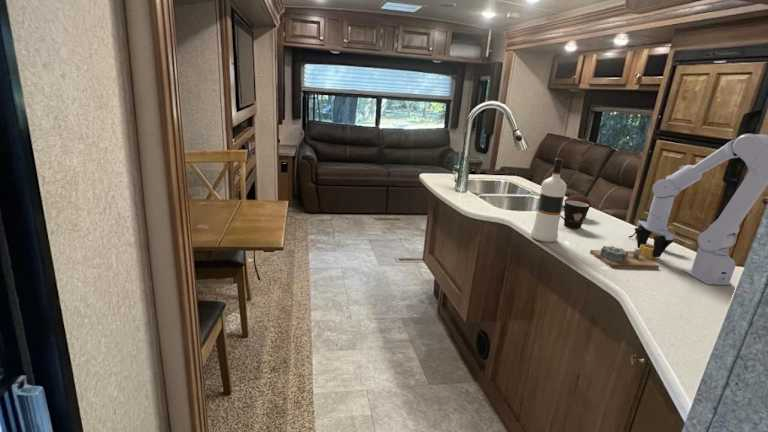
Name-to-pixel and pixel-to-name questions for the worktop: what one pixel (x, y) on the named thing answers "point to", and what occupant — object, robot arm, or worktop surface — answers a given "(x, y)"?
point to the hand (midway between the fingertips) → (648, 252)
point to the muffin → (580, 199)
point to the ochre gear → (647, 251)
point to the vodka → (550, 206)
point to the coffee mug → (574, 214)
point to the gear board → (623, 258)
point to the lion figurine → (656, 234)
